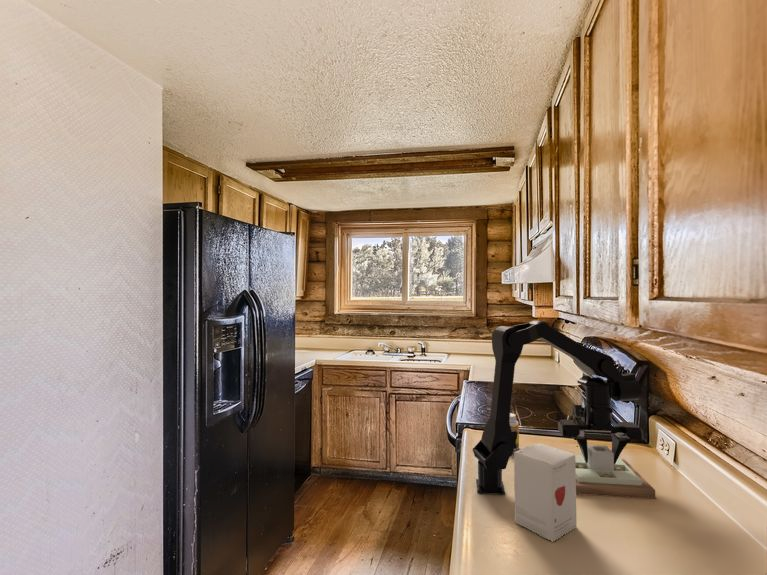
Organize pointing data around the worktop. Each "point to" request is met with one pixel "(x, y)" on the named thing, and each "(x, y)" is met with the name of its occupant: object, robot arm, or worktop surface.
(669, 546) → the worktop surface
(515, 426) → the supplement bottle
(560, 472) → the supplement box
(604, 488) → the walnut board
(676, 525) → the worktop surface
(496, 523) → the worktop surface
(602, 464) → the flange plate
